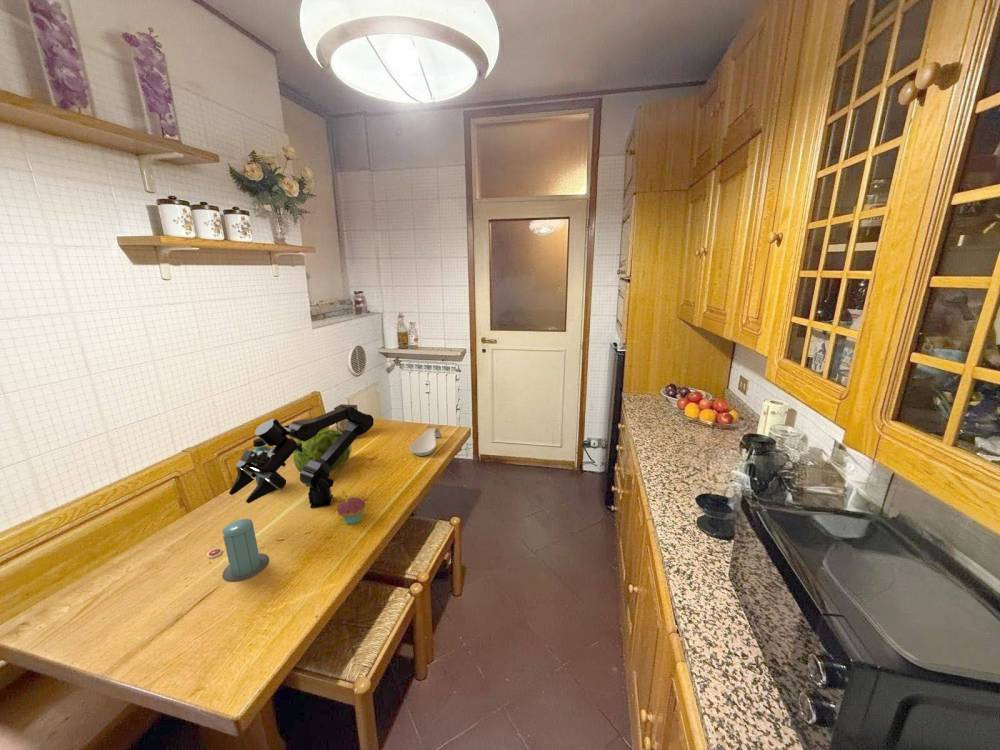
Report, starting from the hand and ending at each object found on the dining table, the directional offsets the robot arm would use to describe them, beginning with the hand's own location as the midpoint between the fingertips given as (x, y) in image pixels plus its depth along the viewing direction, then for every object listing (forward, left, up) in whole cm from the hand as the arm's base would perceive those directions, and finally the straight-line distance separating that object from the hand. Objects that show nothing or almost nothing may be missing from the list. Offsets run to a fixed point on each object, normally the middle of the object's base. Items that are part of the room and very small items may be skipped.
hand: (238, 498), depth 116 cm
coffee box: (-20, -78, -15) cm, 82 cm away
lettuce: (-15, -45, -15) cm, 50 cm away
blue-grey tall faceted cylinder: (-4, +12, -15) cm, 19 cm away
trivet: (-4, +12, -15) cm, 20 cm away
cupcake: (-30, -4, -15) cm, 34 cm away
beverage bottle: (+4, -34, -15) cm, 38 cm away
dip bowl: (+7, +3, -15) cm, 17 cm away
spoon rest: (-57, -54, -16) cm, 80 cm away
